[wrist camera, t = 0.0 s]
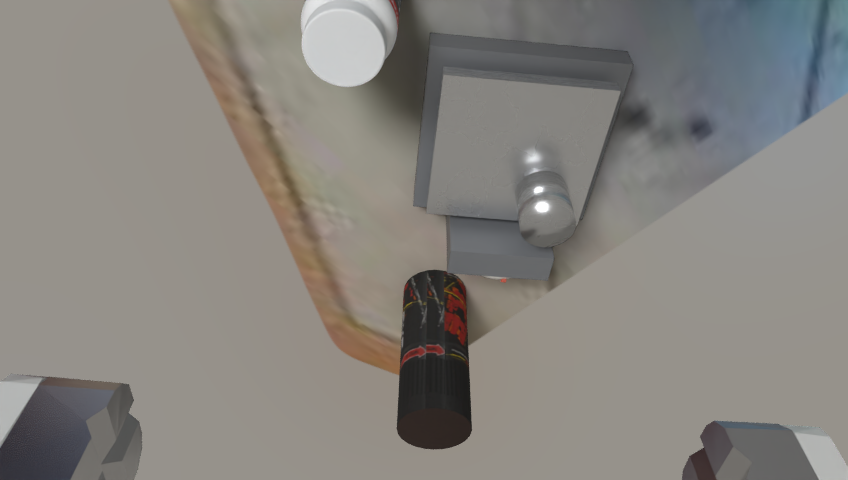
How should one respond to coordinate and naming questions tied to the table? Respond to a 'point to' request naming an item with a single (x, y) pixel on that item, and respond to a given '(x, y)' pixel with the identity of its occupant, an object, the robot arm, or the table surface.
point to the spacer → (544, 209)
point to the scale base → (466, 236)
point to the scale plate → (514, 138)
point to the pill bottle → (348, 38)
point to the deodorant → (434, 362)
